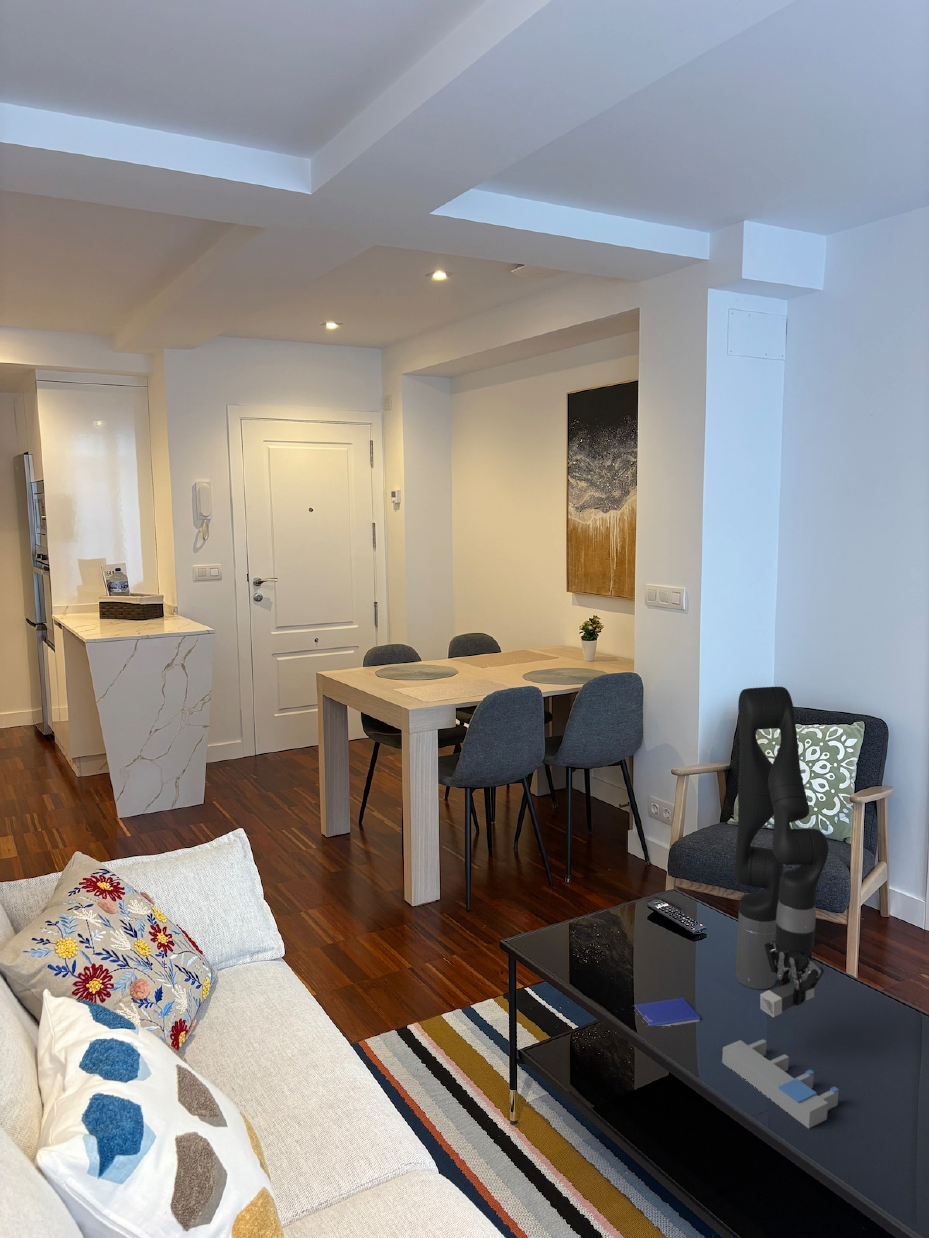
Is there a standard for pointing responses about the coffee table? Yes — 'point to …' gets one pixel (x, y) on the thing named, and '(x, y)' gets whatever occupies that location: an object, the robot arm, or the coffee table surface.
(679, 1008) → the hard drive
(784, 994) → the dark grey capped bar
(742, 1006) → the coffee table surface
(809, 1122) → the pronged holder rack
